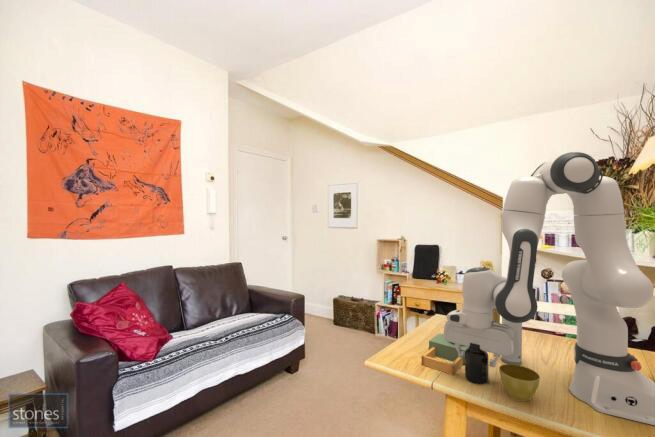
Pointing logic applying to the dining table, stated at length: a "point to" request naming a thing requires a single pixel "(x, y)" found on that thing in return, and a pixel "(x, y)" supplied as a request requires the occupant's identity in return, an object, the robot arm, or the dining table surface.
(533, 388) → the flower pot
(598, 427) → the dining table surface
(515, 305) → the robot arm
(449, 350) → the green block with knob
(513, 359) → the travel mug
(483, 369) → the supplement bottle
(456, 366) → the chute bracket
